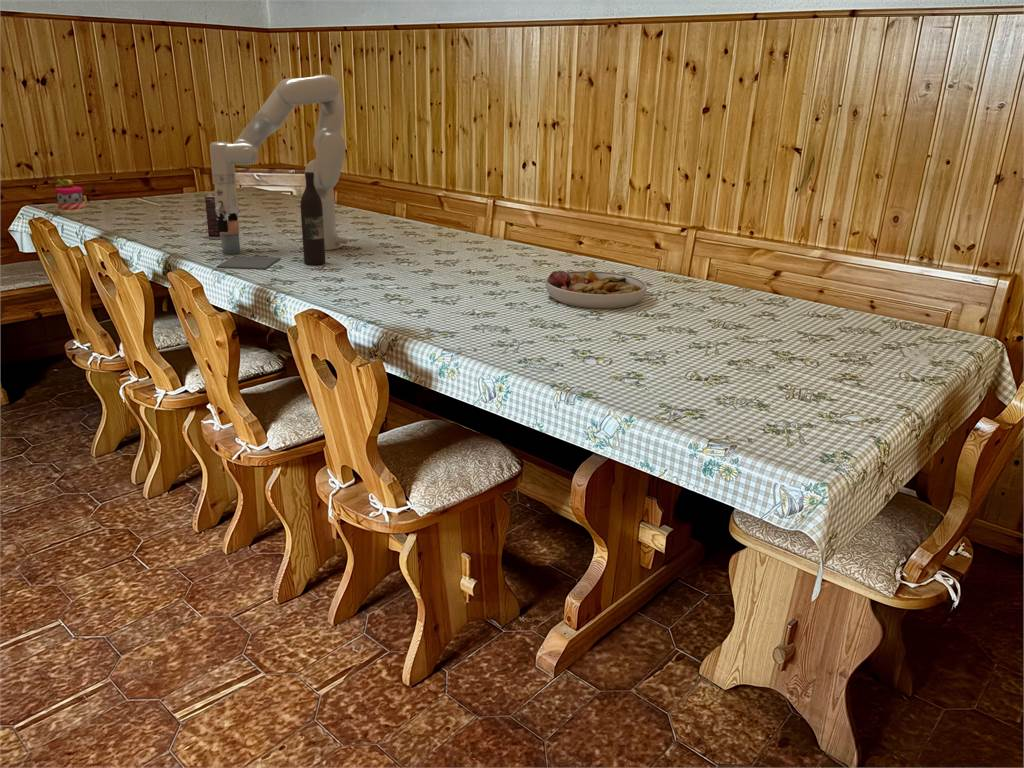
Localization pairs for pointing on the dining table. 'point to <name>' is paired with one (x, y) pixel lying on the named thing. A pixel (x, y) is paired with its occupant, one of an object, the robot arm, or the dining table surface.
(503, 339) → the dining table surface
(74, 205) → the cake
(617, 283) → the bowl
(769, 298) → the dining table surface
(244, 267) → the mat
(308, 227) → the wine bottle
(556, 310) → the dining table surface
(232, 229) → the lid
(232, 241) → the gray cylinder
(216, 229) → the supplement box
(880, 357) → the dining table surface
